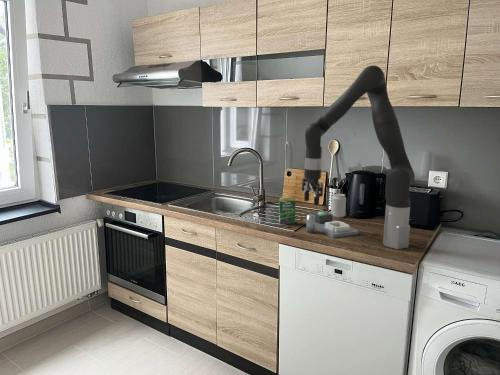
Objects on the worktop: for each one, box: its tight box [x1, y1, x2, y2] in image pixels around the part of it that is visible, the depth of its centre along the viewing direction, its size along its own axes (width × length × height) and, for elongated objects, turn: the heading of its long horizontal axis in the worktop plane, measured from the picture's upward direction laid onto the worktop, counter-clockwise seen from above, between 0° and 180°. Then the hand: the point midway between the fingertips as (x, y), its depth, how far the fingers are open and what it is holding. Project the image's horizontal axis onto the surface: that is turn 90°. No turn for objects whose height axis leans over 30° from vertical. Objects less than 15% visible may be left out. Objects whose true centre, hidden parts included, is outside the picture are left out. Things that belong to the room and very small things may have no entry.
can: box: [330, 193, 347, 219], centre depth 196 cm, size 8×8×12 cm
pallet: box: [303, 210, 360, 239], centre depth 176 cm, size 26×14×6 cm, turn 22°
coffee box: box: [278, 197, 296, 225], centre depth 182 cm, size 8×3×13 cm, turn 91°
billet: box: [305, 213, 316, 234], centre depth 169 cm, size 4×4×8 cm
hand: (311, 202), depth 168 cm, fingers open, 8 cm apart
